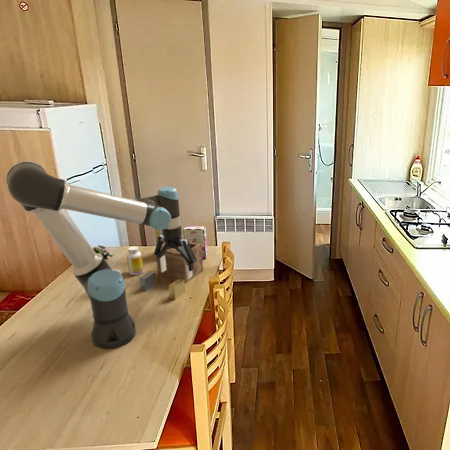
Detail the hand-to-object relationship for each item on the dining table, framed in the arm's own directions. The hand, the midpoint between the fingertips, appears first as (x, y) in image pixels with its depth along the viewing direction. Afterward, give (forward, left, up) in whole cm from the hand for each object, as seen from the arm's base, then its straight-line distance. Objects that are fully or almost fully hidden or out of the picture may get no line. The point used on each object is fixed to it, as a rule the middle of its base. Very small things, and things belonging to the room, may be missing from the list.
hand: (176, 274), depth 154 cm
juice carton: (+31, +31, -10) cm, 45 cm away
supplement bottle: (+8, +31, -10) cm, 34 cm away
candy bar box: (+36, +15, -10) cm, 40 cm away
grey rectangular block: (0, +16, -10) cm, 19 cm away
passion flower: (+7, +56, -10) cm, 57 cm away
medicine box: (-9, +29, -10) cm, 32 cm away
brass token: (0, 0, -10) cm, 10 cm away
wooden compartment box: (+17, +11, -10) cm, 22 cm away
